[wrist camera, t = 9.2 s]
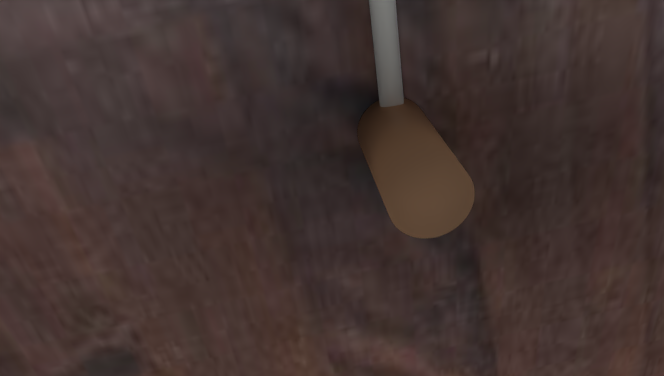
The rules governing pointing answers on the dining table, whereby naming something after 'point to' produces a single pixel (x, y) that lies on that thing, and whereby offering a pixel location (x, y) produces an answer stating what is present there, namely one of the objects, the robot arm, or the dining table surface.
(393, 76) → the tethered block
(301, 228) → the dining table surface
